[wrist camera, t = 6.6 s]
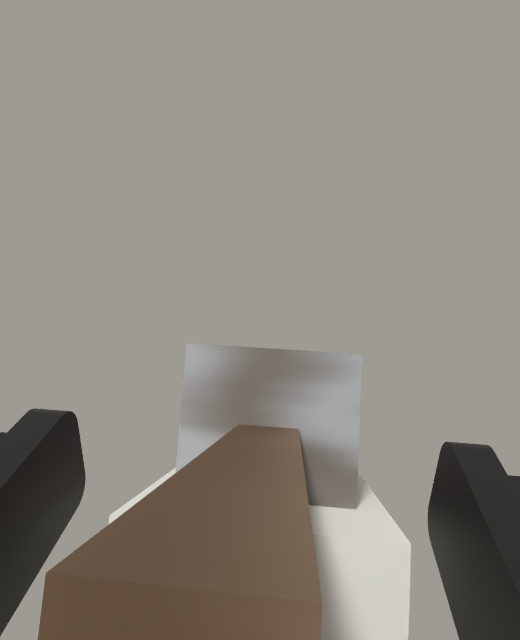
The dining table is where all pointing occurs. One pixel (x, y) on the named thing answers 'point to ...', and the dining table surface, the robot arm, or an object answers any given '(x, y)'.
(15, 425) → the robot arm
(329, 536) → the tall pedestal
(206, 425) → the mallet
